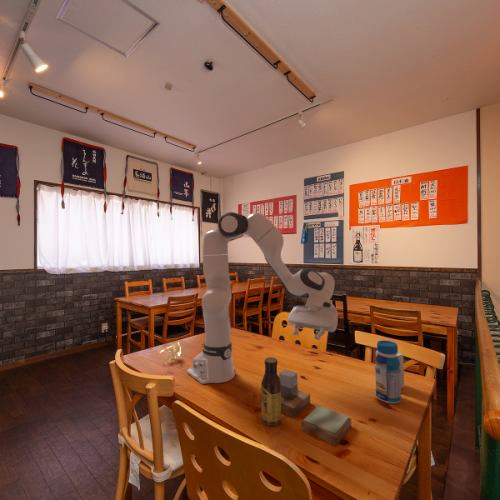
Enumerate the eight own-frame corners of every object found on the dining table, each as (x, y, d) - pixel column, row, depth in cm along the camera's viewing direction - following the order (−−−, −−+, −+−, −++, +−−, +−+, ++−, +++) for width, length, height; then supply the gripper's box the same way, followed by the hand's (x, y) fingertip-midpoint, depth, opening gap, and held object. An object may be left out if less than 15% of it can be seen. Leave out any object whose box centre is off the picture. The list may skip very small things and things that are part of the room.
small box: (404, 387, 107) (404, 354, 108) (393, 391, 105) (393, 357, 105) (386, 379, 115) (385, 348, 115) (375, 382, 112) (375, 350, 112)
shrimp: (157, 369, 134) (153, 354, 131) (172, 348, 148) (169, 334, 145) (178, 371, 131) (174, 356, 128) (192, 350, 145) (188, 335, 141)
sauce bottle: (260, 416, 90) (259, 355, 90) (279, 415, 91) (278, 354, 91) (263, 428, 84) (262, 363, 84) (283, 427, 84) (282, 362, 84)
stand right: (301, 429, 83) (301, 419, 83) (318, 413, 91) (317, 404, 91) (336, 446, 76) (336, 435, 76) (351, 426, 84) (351, 416, 84)
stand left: (266, 405, 96) (266, 397, 96) (284, 393, 105) (284, 385, 105) (294, 417, 89) (293, 408, 89) (310, 403, 98) (310, 394, 98)
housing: (279, 395, 97) (279, 373, 97) (285, 391, 100) (285, 369, 100) (291, 400, 94) (291, 377, 94) (297, 395, 97) (297, 373, 97)
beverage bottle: (400, 407, 94) (399, 348, 94) (373, 400, 99) (372, 344, 99) (402, 396, 101) (401, 341, 101) (377, 390, 106) (376, 338, 106)
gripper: (291, 300, 119) (279, 328, 112) (337, 305, 106) (327, 337, 98) (297, 309, 123) (286, 336, 115) (342, 314, 109) (333, 346, 102)
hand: (305, 336), depth 107 cm, fingers open, 8 cm apart
